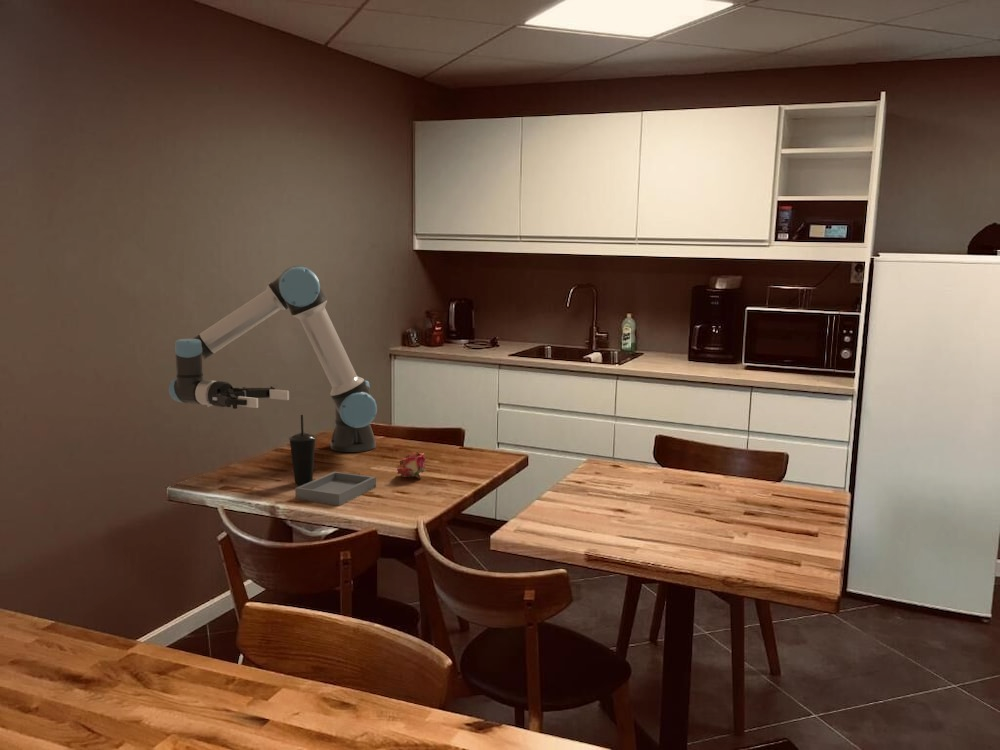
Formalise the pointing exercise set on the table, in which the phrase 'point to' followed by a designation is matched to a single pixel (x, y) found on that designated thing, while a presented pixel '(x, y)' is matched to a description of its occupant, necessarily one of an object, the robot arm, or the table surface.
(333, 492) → the tray
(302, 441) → the drinking cup
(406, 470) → the flower
